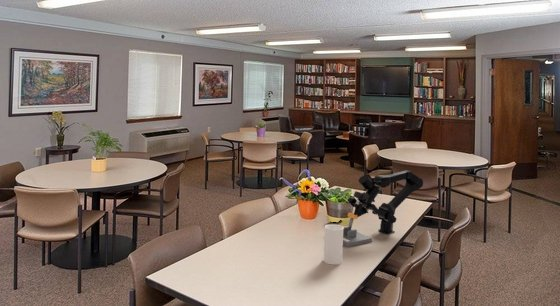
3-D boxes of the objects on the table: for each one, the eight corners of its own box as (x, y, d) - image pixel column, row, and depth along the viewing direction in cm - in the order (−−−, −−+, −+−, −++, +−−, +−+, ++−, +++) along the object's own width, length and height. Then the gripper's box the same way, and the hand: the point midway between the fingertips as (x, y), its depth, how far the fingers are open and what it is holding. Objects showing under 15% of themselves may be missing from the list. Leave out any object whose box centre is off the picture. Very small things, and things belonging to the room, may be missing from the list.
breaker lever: (346, 233, 226) (351, 212, 226) (352, 235, 222) (357, 215, 222) (343, 232, 225) (348, 212, 225) (350, 235, 221) (354, 214, 221)
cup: (329, 256, 200) (330, 223, 198) (345, 260, 195) (346, 226, 193) (320, 261, 193) (321, 227, 191) (336, 266, 188) (338, 231, 186)
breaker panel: (348, 231, 236) (348, 222, 235) (371, 241, 221) (372, 231, 220) (325, 236, 227) (325, 226, 226) (348, 247, 212) (348, 236, 211)
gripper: (350, 182, 232) (334, 204, 228) (375, 189, 217) (358, 213, 212) (361, 195, 238) (344, 217, 233) (386, 202, 222) (369, 226, 218)
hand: (353, 218), depth 224 cm, fingers closed, pressing on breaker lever
